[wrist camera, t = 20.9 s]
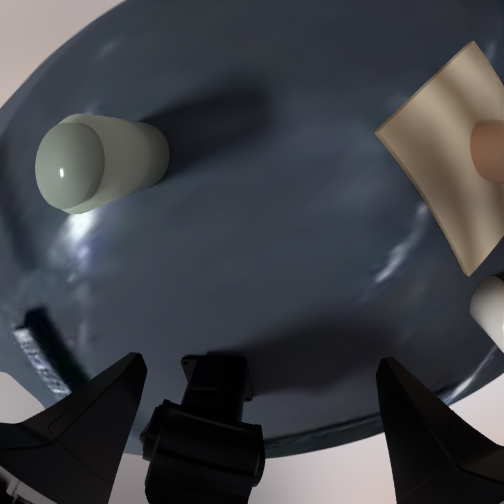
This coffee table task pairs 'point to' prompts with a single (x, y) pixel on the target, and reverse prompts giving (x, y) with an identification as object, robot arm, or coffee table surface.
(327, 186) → the coffee table surface
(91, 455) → the robot arm
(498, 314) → the cream jar
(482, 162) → the terracotta jar
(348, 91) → the coffee table surface
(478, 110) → the beige cloth
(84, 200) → the sage jar
